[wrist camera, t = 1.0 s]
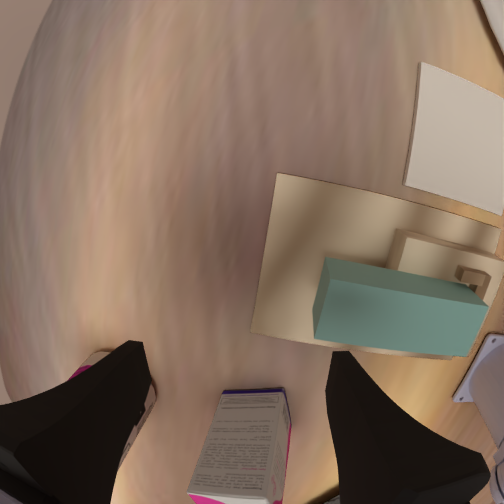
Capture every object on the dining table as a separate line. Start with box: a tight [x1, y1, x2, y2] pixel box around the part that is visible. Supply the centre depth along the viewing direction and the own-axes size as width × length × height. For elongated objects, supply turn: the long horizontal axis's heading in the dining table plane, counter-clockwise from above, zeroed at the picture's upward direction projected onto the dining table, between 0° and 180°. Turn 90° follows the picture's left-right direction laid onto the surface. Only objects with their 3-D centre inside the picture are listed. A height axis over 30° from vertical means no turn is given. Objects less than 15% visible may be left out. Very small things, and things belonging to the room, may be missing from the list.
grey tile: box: [402, 62, 504, 216], centre depth 17 cm, size 9×9×1 cm
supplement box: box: [187, 388, 291, 504], centre depth 21 cm, size 6×6×12 cm
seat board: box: [250, 173, 504, 360], centre depth 19 cm, size 18×12×4 cm, turn 82°
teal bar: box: [312, 257, 489, 357], centre depth 17 cm, size 10×4×4 cm, turn 82°
